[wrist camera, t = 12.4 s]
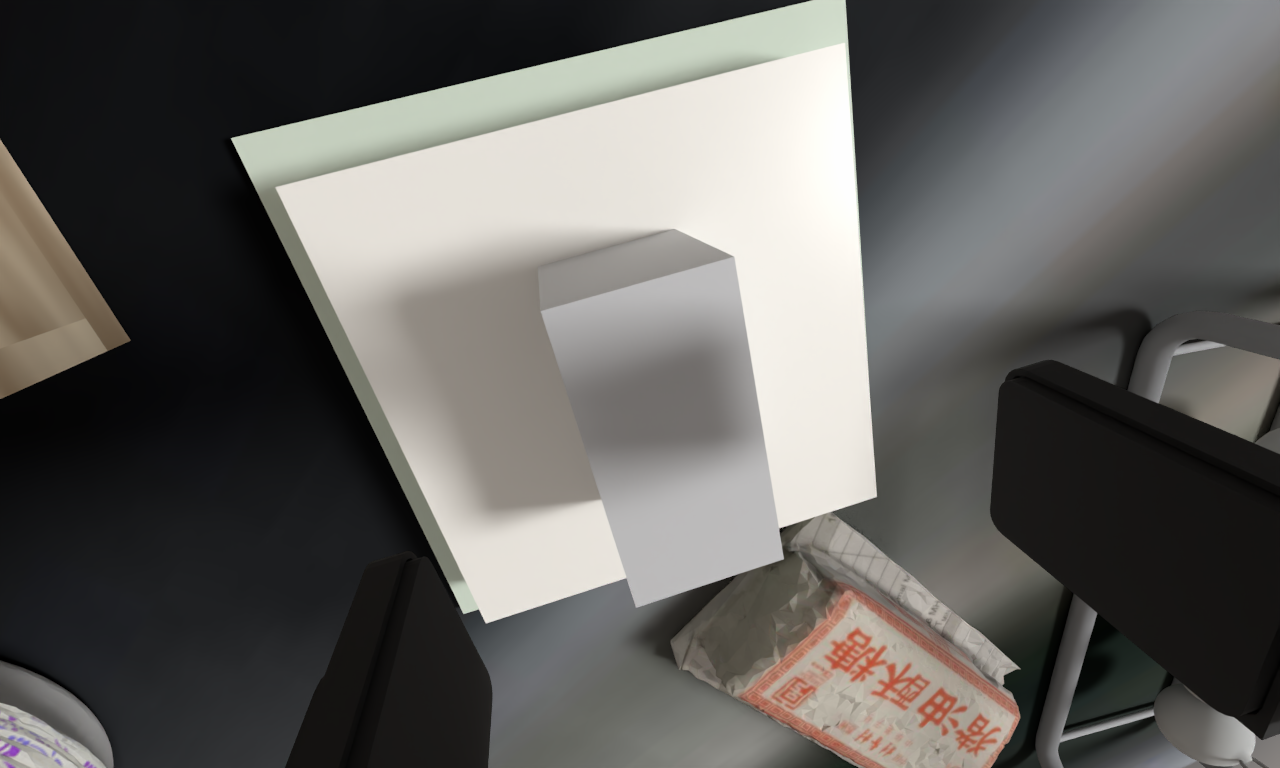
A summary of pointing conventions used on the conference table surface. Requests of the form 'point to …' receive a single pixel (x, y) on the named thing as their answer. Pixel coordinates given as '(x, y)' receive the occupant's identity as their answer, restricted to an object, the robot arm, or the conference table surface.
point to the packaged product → (854, 655)
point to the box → (43, 292)
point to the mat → (497, 108)
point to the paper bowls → (47, 725)
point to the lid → (616, 330)
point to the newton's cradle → (1175, 706)
